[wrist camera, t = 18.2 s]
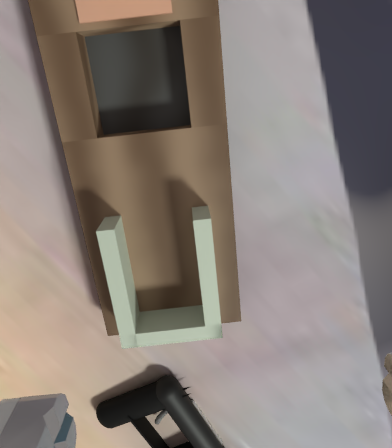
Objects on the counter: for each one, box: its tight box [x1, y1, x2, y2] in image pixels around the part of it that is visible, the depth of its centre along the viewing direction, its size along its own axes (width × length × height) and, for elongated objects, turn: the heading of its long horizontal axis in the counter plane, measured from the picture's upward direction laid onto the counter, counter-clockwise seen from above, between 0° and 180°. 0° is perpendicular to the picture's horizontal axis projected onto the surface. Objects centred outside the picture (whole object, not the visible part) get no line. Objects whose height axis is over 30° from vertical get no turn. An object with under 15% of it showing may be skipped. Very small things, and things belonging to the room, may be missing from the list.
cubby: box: [96, 206, 223, 349], centre depth 33 cm, size 10×12×4 cm
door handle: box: [96, 376, 224, 448], centre depth 46 cm, size 3×20×16 cm
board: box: [28, 0, 241, 336], centre depth 32 cm, size 14×36×3 cm, turn 6°
